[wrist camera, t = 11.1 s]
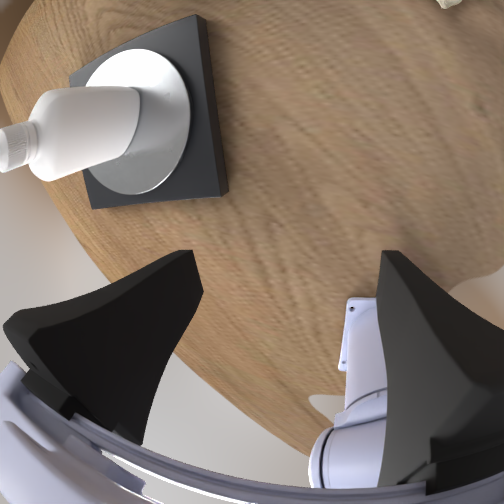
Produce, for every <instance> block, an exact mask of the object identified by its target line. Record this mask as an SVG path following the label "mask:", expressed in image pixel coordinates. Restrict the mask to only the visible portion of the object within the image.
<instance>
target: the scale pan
mask: <svg viewBox="0 0 504 504" xmlns="http://www.w3.org/2000/svg"><path fill="white" fill-rule="evenodd" d="M86 86H126V87H129V88H132V89H135V90H136V91H137V92H138V93H139V96H140V110H139V118H138V123H137V127H136V130H135V133H134V135H133V138H132V140H131V142H130V144H129V146H128V147H127V149H126V150H125V152H124V153H123V154H122V155H121V156H119V157H118V158H115V159H112V160H108V161H105V162H102V163H99V164H97V165H94V166H91V167H88V169H89V170H90V172H91V173H92V175H93V176H94V177H95V178H96V179H97V180H98V181H99V182H100V183H101V184H103V185H104V186H105V187H107V188H109V189H110V190H113V191H115V192H118V193H121V194H128V195H133V194H140V193H145V192H147V191H150V190H152V189H154V188H156V187H157V186H159V185H161V184H162V183H163V182H165V181H166V180H167V179H168V178H169V177H170V176H171V175H172V174H173V173H174V172H175V170H176V169H177V168H178V166H179V165H180V163H181V161H182V159H183V158H184V156H185V153H186V151H187V148H188V146H189V142H190V139H191V135H192V129H193V117H194V111H193V101H192V96H191V91H190V89H189V86H188V83H187V81H186V79H185V77H184V75H183V73H182V72H181V70H180V69H179V68H178V66H177V65H176V64H175V63H174V62H173V61H172V60H170V59H169V58H167V57H166V56H165V55H163V54H160V53H158V52H155V51H151V50H147V49H131V50H127V51H123V52H121V53H118V54H116V55H114V56H112V57H111V58H109V59H108V60H107V61H105V62H104V63H103V64H102V65H101V66H100V67H99V68H98V69H97V70H96V71H95V72H94V74H93V75H92V76H91V78H90V79H89V81H88V83H87V84H86Z"/></svg>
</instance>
